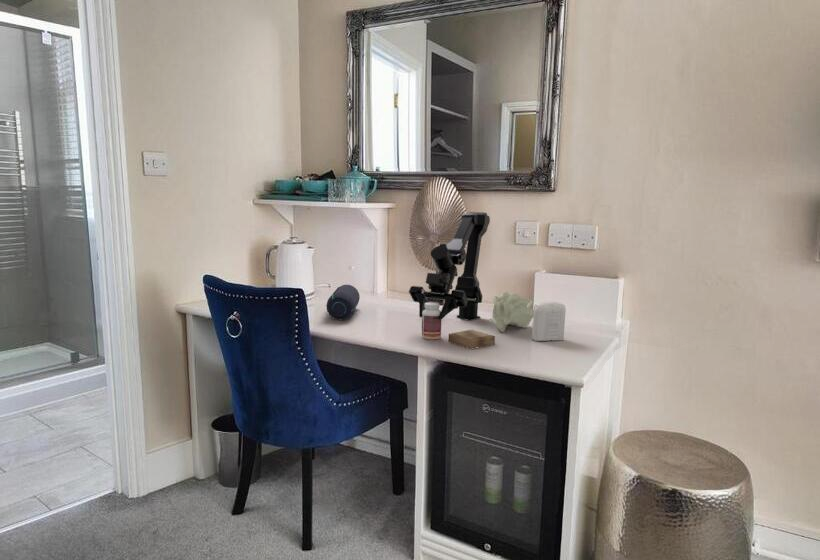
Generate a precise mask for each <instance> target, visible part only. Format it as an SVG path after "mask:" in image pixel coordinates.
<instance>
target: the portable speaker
mask: <svg viewBox="0 0 820 560" xmlns="http://www.w3.org/2000/svg"><path fill="white" fill-rule="evenodd" d="M360 297H361V296H360V292H359V291H358V289H357V288H356V287H355V286H353V285H351V284H342V285H340V286H338V287H337V288H336V289H335V290H334V292H333V293H332V294H331V295H330V296H329V298H328V299H327V302H326V311H327V313H328V314H329V316H330V317H331V318H332V319H335V320H337V321H344V320H346V319H349V318H350V317H351V316H352V315H353V314H354V312H355V311H356V308H357V307H358V305H359V302H360V299H361V298H360Z"/></svg>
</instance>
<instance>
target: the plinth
mask: <svg viewBox="0 0 820 560" xmlns="http://www.w3.org/2000/svg"><path fill="white" fill-rule="evenodd" d="M447 340H448V343H450V342H451V344H454V343H455V344H454V345H457V344H458V346H460V345H461V346H460V347H463V346H464V347H463V348H466V347H468V348H467V349H469V348H475V349H477V348H476V347H479V348H483V347H482V346H484V347H487V346H486V345H488V346H492V345H491V344H493V345H495V343H496V341H495V340H496V336H495V335H492V334H489V333H485V332H482V331H478V330H475V329H467V330H461V331H456V332H452V333H448V339H447Z"/></svg>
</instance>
